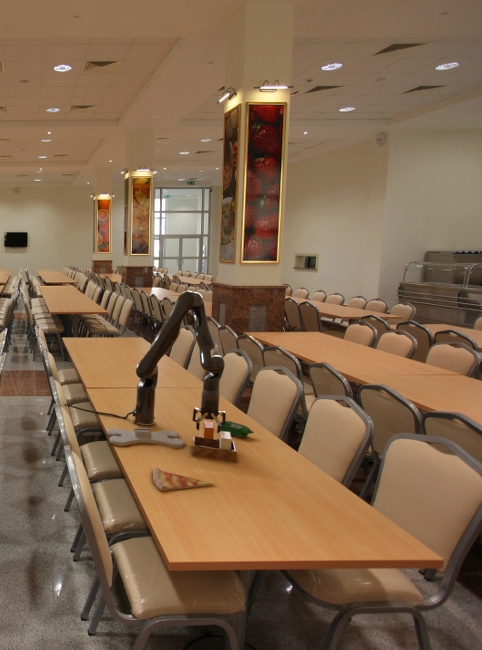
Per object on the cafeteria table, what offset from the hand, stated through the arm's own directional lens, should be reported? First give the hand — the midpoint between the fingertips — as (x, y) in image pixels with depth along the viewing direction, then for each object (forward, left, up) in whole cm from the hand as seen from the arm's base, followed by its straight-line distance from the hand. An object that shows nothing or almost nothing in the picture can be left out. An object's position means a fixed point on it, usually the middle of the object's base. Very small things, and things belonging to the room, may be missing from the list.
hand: (208, 431), depth 237 cm
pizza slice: (-12, -51, -6) cm, 53 cm away
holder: (-28, -7, -6) cm, 29 cm away
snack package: (+13, +17, -6) cm, 22 cm away
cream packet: (+7, -13, -5) cm, 15 cm away
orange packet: (0, 0, -6) cm, 6 cm away
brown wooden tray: (+2, -13, -6) cm, 14 cm away
